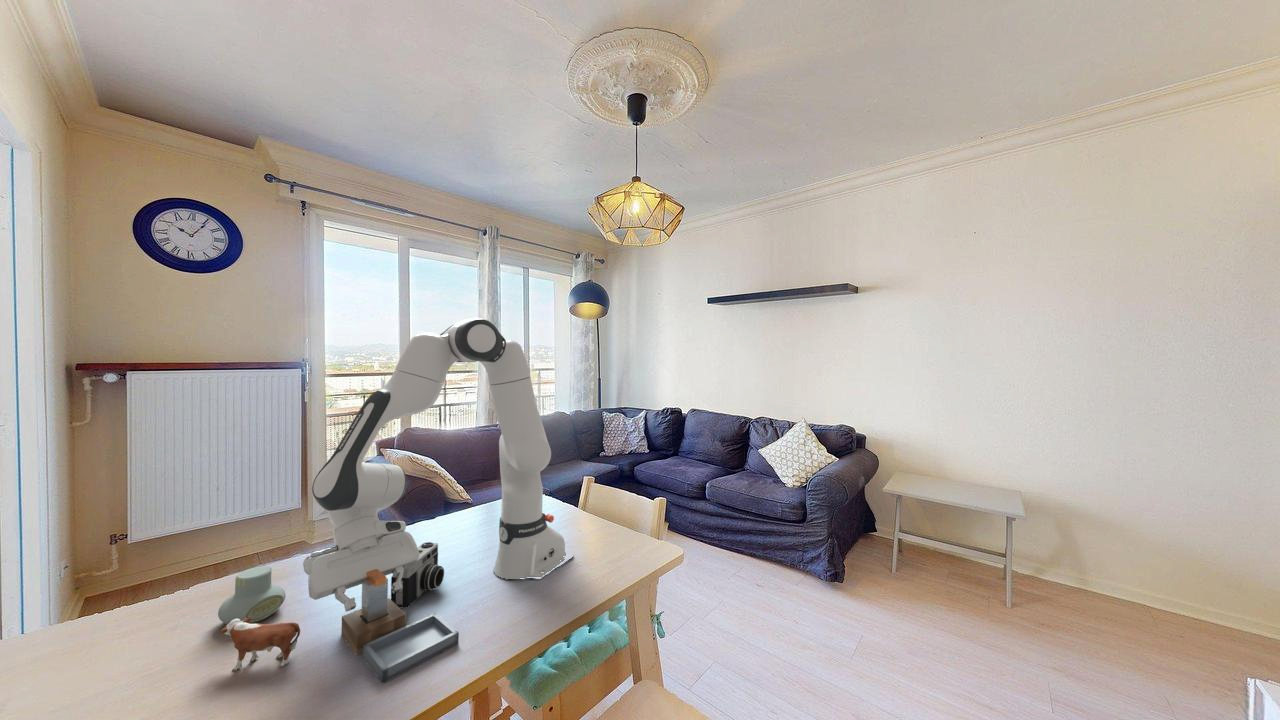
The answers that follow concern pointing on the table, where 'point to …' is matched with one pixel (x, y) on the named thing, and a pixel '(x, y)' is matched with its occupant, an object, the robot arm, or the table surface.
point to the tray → (409, 646)
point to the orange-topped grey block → (374, 596)
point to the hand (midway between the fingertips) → (375, 599)
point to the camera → (419, 576)
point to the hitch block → (371, 627)
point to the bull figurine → (261, 638)
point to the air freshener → (252, 597)
